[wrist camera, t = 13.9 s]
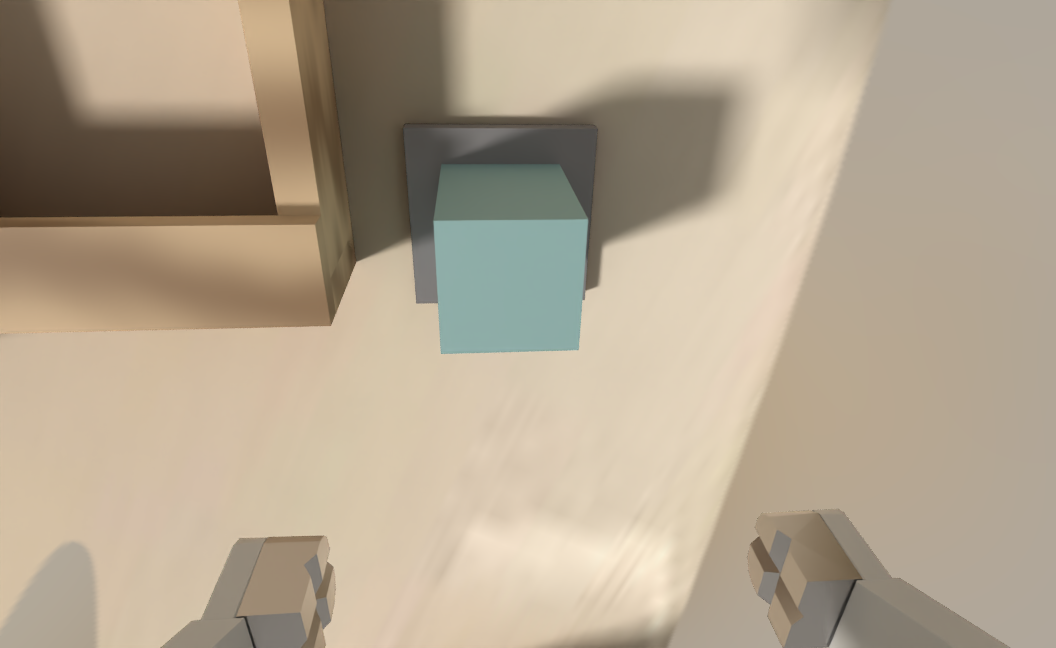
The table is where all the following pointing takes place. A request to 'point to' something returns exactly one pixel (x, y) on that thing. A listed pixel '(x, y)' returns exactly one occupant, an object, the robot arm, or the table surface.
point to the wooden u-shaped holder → (209, 221)
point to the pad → (486, 146)
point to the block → (508, 258)
